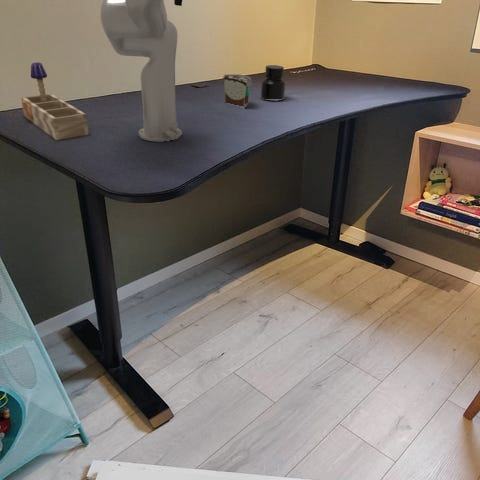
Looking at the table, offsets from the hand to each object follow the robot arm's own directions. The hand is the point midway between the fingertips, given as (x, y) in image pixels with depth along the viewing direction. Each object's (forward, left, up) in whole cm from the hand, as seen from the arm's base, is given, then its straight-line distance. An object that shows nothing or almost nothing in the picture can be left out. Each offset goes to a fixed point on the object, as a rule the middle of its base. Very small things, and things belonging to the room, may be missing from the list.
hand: (164, 5), depth 139 cm
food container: (0, -31, -34) cm, 46 cm away
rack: (+10, +34, -33) cm, 49 cm away
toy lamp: (+18, +34, -34) cm, 51 cm away
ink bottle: (0, -47, -34) cm, 58 cm away
